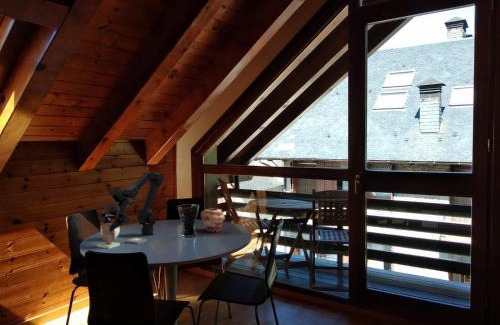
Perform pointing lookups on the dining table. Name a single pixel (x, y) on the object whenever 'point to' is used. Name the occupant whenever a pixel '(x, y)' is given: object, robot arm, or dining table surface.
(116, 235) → the lidded jar
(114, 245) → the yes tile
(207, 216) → the decorative planter
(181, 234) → the dining table surface
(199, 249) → the dining table surface
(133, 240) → the tile
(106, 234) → the walnut block
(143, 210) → the robot arm
